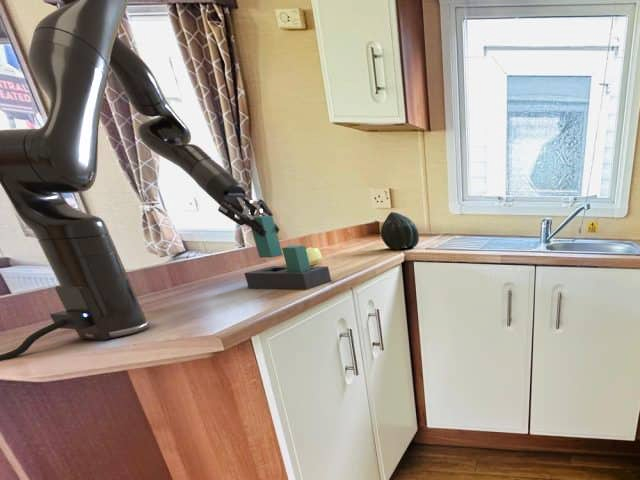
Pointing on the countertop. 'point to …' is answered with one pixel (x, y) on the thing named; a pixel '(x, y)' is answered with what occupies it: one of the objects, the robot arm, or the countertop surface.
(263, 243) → the green block
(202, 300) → the countertop surface
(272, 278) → the mount
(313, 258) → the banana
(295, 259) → the block
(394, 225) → the squash
